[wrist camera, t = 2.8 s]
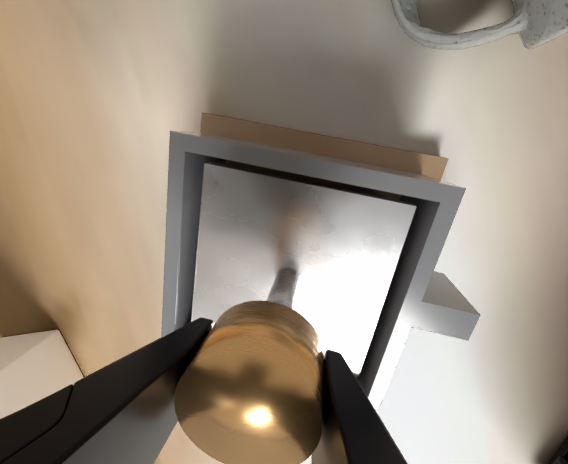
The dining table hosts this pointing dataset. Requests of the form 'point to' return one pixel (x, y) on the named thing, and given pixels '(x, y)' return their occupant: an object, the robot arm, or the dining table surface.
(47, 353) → the milk
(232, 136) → the grey square tray
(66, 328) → the dining table surface
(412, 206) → the plunger
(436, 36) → the ceramic mug
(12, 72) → the dining table surface
